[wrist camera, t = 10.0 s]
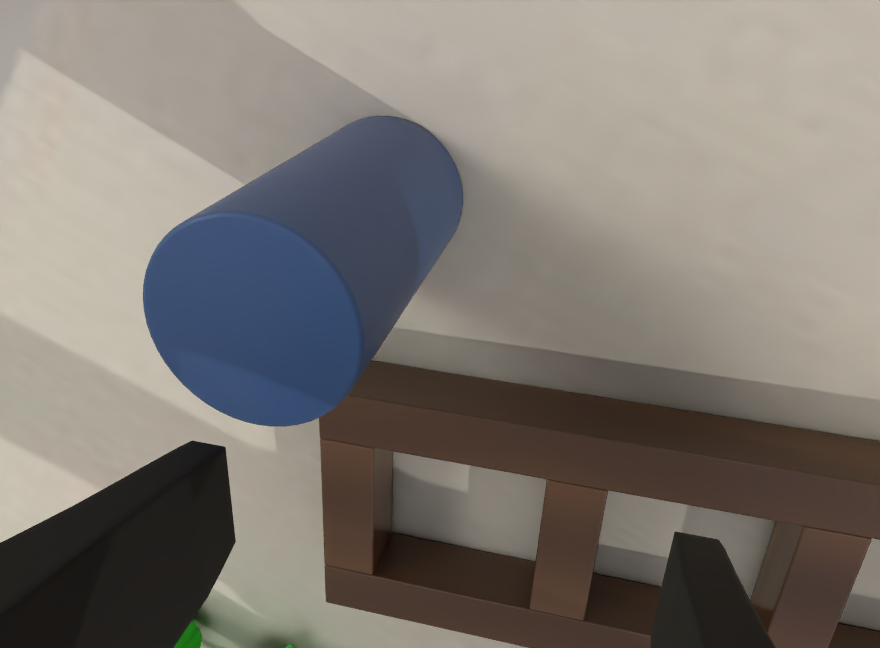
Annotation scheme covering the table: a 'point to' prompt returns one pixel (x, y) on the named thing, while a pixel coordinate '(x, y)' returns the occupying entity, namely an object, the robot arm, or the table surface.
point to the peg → (302, 271)
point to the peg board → (586, 508)
